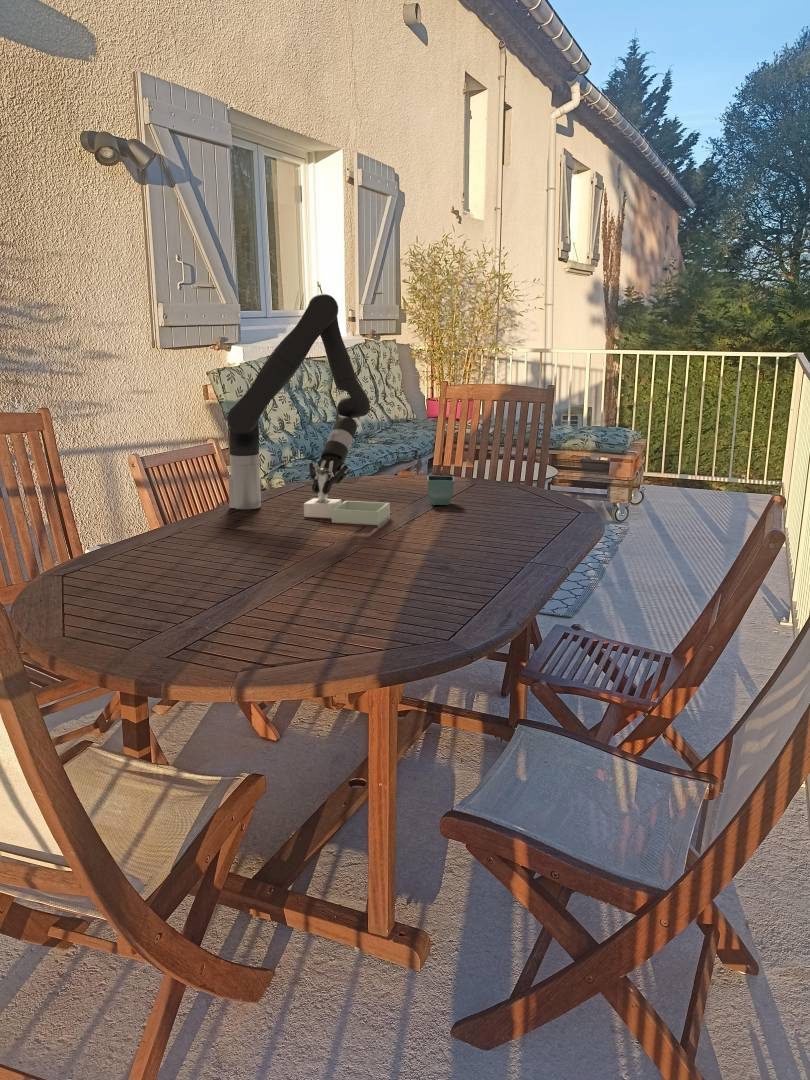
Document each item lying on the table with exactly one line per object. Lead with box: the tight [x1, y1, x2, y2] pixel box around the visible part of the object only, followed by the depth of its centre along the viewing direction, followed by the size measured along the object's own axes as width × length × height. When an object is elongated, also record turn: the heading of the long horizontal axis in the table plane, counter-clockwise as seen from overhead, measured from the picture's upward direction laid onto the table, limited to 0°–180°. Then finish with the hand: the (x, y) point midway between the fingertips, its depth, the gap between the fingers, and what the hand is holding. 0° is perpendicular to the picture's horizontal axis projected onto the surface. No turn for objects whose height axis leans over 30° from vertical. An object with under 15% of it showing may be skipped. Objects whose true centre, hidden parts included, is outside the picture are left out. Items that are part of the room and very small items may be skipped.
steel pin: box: [316, 467, 328, 503], centre depth 255 cm, size 3×3×14 cm
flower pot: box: [426, 475, 456, 506], centre depth 277 cm, size 9×9×9 cm
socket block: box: [303, 497, 342, 519], centre depth 256 cm, size 9×9×5 cm
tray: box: [331, 500, 391, 529], centre depth 251 cm, size 14×14×5 cm
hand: (319, 492), depth 253 cm, fingers closed on steel pin, 2 cm apart
